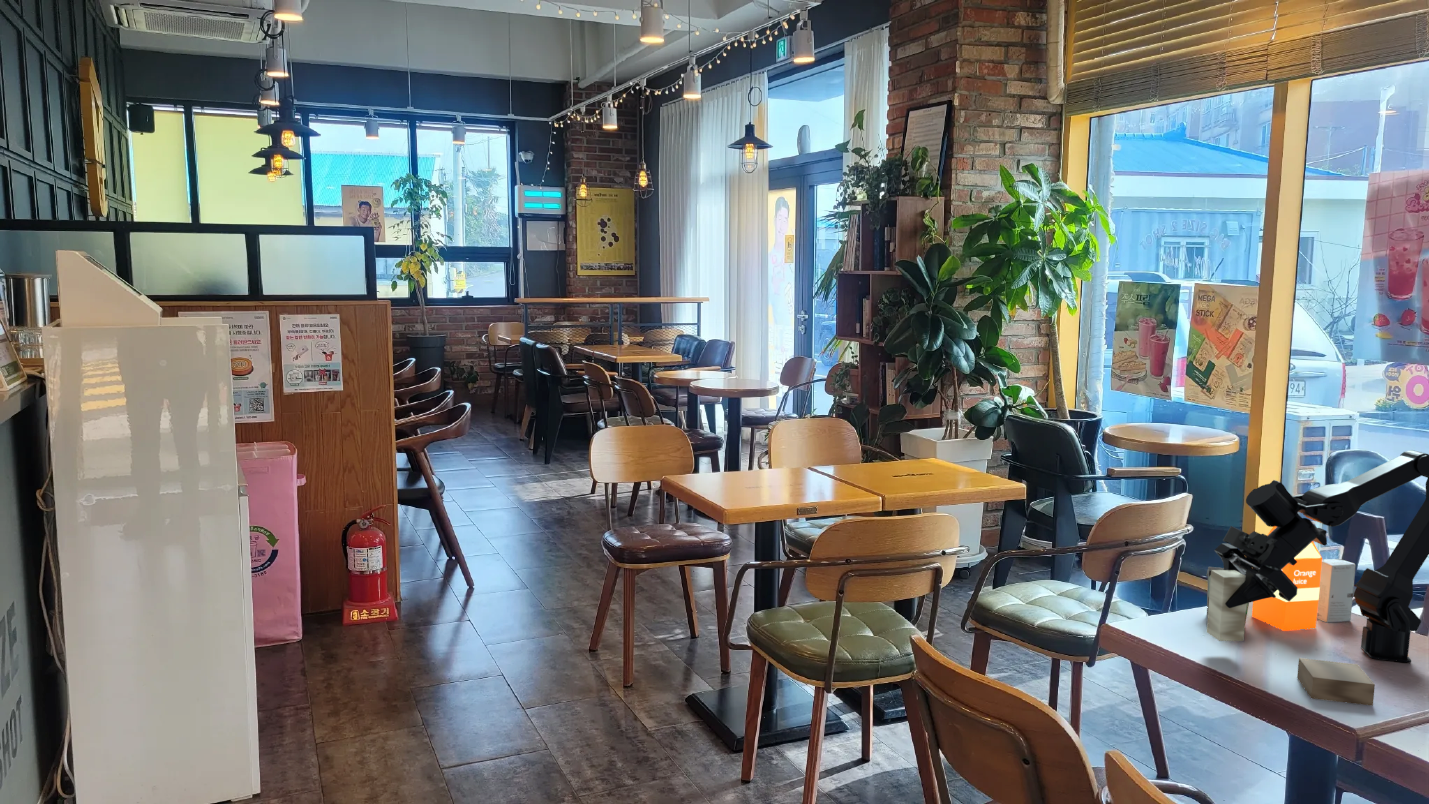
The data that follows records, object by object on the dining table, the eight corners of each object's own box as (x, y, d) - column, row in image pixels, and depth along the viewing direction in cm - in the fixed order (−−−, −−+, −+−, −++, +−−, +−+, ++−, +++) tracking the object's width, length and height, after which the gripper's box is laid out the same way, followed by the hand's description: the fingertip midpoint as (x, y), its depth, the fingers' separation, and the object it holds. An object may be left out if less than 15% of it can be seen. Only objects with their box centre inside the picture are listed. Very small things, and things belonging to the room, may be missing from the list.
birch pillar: (1230, 632, 188) (1235, 570, 186) (1243, 641, 183) (1248, 577, 182) (1206, 632, 188) (1211, 570, 186) (1219, 641, 183) (1224, 577, 182)
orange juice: (1283, 631, 199) (1291, 533, 197) (1250, 616, 208) (1258, 522, 205) (1316, 628, 201) (1325, 531, 198) (1283, 614, 209) (1291, 520, 207)
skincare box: (1327, 623, 204) (1332, 565, 203) (1309, 615, 208) (1314, 559, 207) (1352, 621, 205) (1357, 563, 204) (1334, 614, 210) (1339, 557, 208)
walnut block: (1355, 686, 173) (1357, 664, 173) (1372, 707, 165) (1375, 684, 164) (1296, 679, 176) (1299, 657, 175) (1310, 700, 167) (1312, 677, 167)
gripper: (1228, 501, 192) (1167, 557, 193) (1286, 526, 173) (1218, 587, 175) (1265, 541, 193) (1204, 597, 194) (1326, 570, 175) (1259, 631, 176)
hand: (1220, 601), depth 185 cm, fingers closed on birch pillar, 4 cm apart
